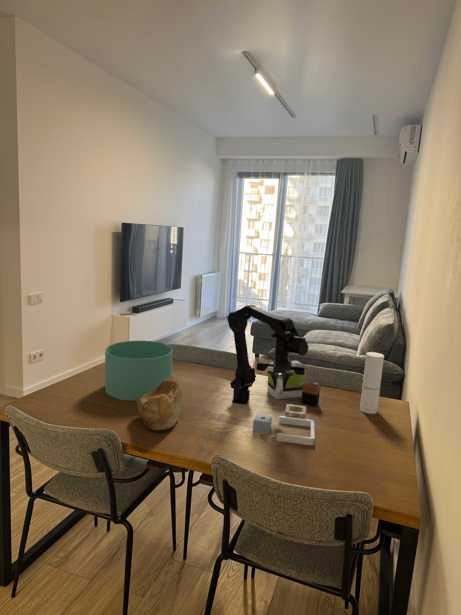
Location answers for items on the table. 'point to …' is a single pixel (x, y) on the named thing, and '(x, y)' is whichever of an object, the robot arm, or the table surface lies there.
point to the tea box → (288, 385)
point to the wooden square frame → (295, 411)
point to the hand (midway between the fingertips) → (279, 387)
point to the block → (262, 423)
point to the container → (136, 368)
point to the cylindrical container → (371, 382)
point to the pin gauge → (279, 383)
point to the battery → (310, 394)
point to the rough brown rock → (161, 405)
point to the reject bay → (297, 438)
